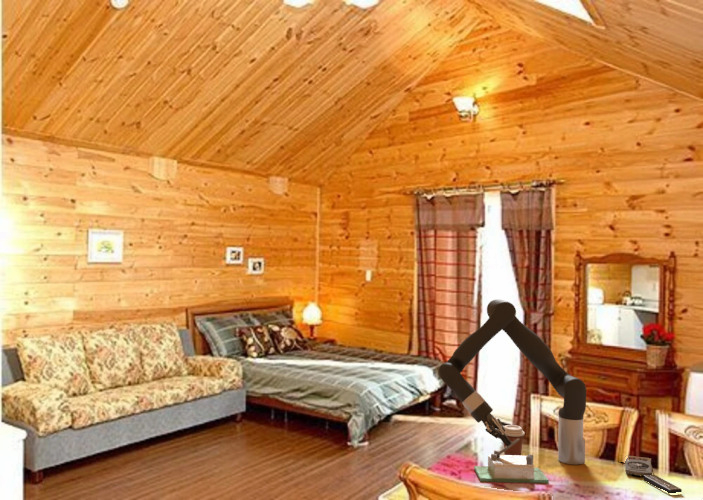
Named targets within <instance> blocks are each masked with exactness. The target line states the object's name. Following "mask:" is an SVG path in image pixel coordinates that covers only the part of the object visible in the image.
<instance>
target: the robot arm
mask: <svg viewBox="0 0 703 500" xmlns="http://www.w3.org/2000/svg"><path fill="white" fill-rule="evenodd" d="M486 313H487V316H488V319H487V320H486V321H485V323H484V324H483V325H482V326H481V327H479V328H478V329H477V330H475V331H474V332H472V333H471V334H469V335H468V336H467V337H466V338H465V339H463V341H462V342H461V343H460V344H459V346H458V347H457V348H456V349H455V350H454V352H453V353H452V356H450V358H449V359H448V360H447V361H446V362H443V363H442V364H440V366H439V367H438V372H437V373H438V374H437V375H438V376H439V378H440V379H441V380H442V381H443V382H444V383H445V384H446V386H447V387H448V388H449V389H450V390H451V391H452V392H453V393H454V395H455V397H456V398H457V399H458V400H459V401H460V403H462V405H463V407H464V409H466V410H467V412H468V413H469V414H470V415H471V416H472V418H473V419H474V420H475V422H477V423H480V422H482V423H483V425H484V426H485V432H487V434H490V435H491V436H493V437H494V438H495V439H500V441H501V442H502V443H503V445H504V444H505V445H506V446H508V445H510V444H511V443H512V441H511V440H510V439H509V438H508V437H507V436H506V434H505V429H504V425H503V423H502V421H501V419H500V418H496V416H494V415H493V414H492V412H493V408H492V407H491V405H489V403H488V402H487V401H486V400H485V399H484V398H483V396H482V395H481V394H480V393H479V392H477V391H476V389H475V388H474V387H473V386H472V385H471V384H470V383H469V381H467V380H466V378H465V377H464V376H463V375H462V374H461V373H462V372H463V370H464V369H465V368H466V366H468V364H470V363H471V362H472V360H473V359H474V358H475V356H477V355H478V353H480V351H481V350H483V348H484V347H485V346H486V345H487V344H488V343H489V342H490V341H491V339H493V338H495V337H496V335H497V334H499V332H501V331H503V332H504V333H506V335H507V336H508V337H509V338H510V340H511V341H512V343H513V344H514V345H515V346H516V348H518V350H519V352H521V354H523V356H524V357H525V358H526V359H528V361H529V362H530V363H531V364H532V365H533V366H534V368H536V369H537V370H538V372H540V373H541V374H542V375H544V377H545V378H546V379H547V381H548V382H549V383H550V385H551V386H552V387H553V389H554V390H555V392H556V393H557V394H558V395H559V396H560V397H562V398H563V406H562V407H560V408H558V437H557V438H558V441H557V443H558V444H557V445H558V446H557V448H558V449H557V452H558V453H557V459H558V461H559V462H560V463H563V464H567V465H581V464H586V439H585V437H584V414H585V412H586V409H587V385H586V383H585V382H584V381H583V380H582V379H581V378H578V377H576V376H573V375H571V374H569V373H568V371H566V370H565V369H564V368H563V367H561V365H560V364H559V363H558V362H557V360H556V358H555V356H554V354H553V352H552V350H551V348H550V347H549V346H548V344H546V343H545V342H544V340H543V339H542V338H541V337H540V336H539V335H538V334H537V333H536V332H534V331H533V330H531V329H530V328H529V327H527V326H526V325H525V324H524V323H522V321H520V320H519V318H518V317H517V316H516V315H517V310H516V308H515V305H514V304H513V303H511V302H510V301H507V300H504V299H493V300H491V301H489V303H488V304H487V306H486Z"/></svg>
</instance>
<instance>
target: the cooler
mask: <svg viewBox="0 0 703 500" xmlns="http://www.w3.org/2000/svg"><path fill="white" fill-rule="evenodd" d="M499 451H500V450H494V451H493V453H491V454H488V456H487V466H485V465H484V466H483V465H482V466H480V465H478V466H477V465H473V466H474V467H473V470H474V471H475V474H476V475H477V478H478V479H480V480H479V482H480V481H481V483H484V481H485V483H515V484H517V483H518V484H519V483H520V484H521V483H522V484H549V483H550V482H549V478H548V477H547V476H546V475H545V474H544V473H543V471H542V470H541V469H540V468H539V467H534V455H533V454H527V455H522V454H521V455H504V454H500V455H499V456H497V455H496V453H498V452H499Z"/></svg>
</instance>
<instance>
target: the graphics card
mask: <svg viewBox="0 0 703 500" xmlns="http://www.w3.org/2000/svg"><path fill="white" fill-rule="evenodd" d="M627 456H628V458H627V459H626V461H625V463H624V465H625V467H624V468H625V473H626V474H628V475H632V474H635V475H634V476H639V475H652V471H653V465H652V458H649V457H641V456H634V455H627ZM653 472H654V471H653ZM629 473H630V474H629Z"/></svg>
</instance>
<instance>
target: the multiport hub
mask: <svg viewBox="0 0 703 500" xmlns="http://www.w3.org/2000/svg"><path fill="white" fill-rule="evenodd" d="M642 478H643V479H644V480H645V481H647V482H649V483H650V485H651V484H652V485H654V486H656V487H658V488H660V489H663V490H665V491H667V492H668V493H676V492H682V491H683V490H682V488H680V487H678V486H676V485H675V484H672V483H671V482H669V481H667V480H665V479H663V478H661V477H659V476H658V475H656V474H653V475H643V477H642ZM644 480H643V481H644ZM645 481H644V482H645ZM647 482H646V483H647ZM649 483H648V484H649ZM652 485H651V486H652ZM654 486H653V487H654ZM656 487H655V488H656ZM658 488H657V489H658ZM660 489H659V490H660ZM682 493H683V492H682Z"/></svg>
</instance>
